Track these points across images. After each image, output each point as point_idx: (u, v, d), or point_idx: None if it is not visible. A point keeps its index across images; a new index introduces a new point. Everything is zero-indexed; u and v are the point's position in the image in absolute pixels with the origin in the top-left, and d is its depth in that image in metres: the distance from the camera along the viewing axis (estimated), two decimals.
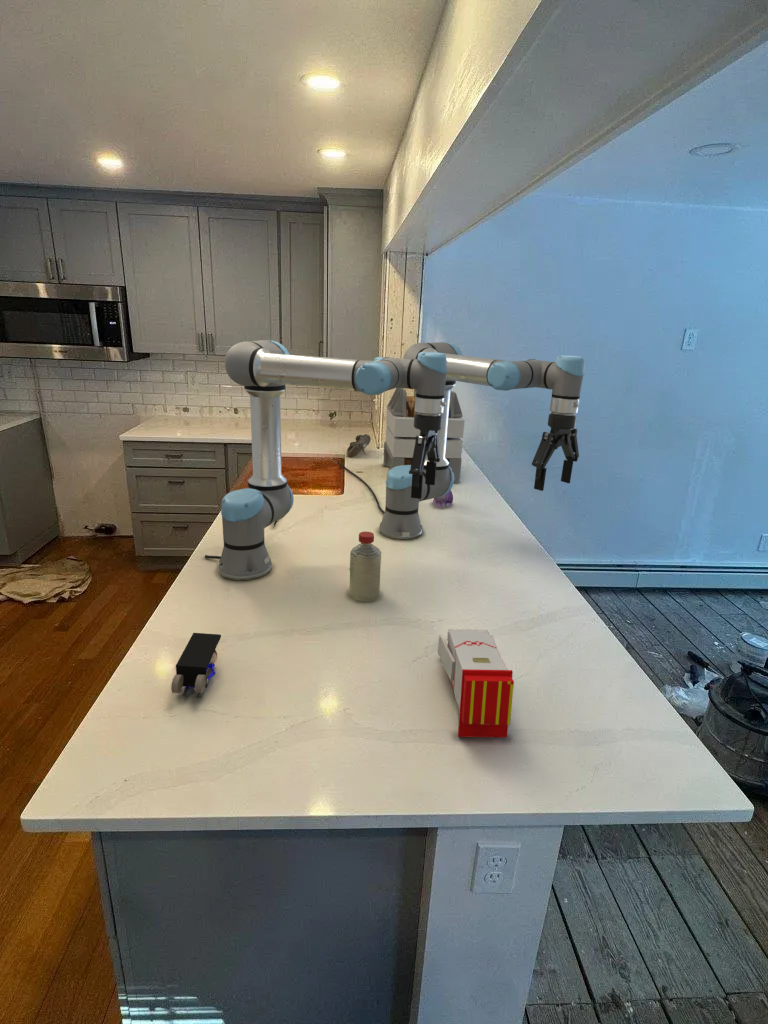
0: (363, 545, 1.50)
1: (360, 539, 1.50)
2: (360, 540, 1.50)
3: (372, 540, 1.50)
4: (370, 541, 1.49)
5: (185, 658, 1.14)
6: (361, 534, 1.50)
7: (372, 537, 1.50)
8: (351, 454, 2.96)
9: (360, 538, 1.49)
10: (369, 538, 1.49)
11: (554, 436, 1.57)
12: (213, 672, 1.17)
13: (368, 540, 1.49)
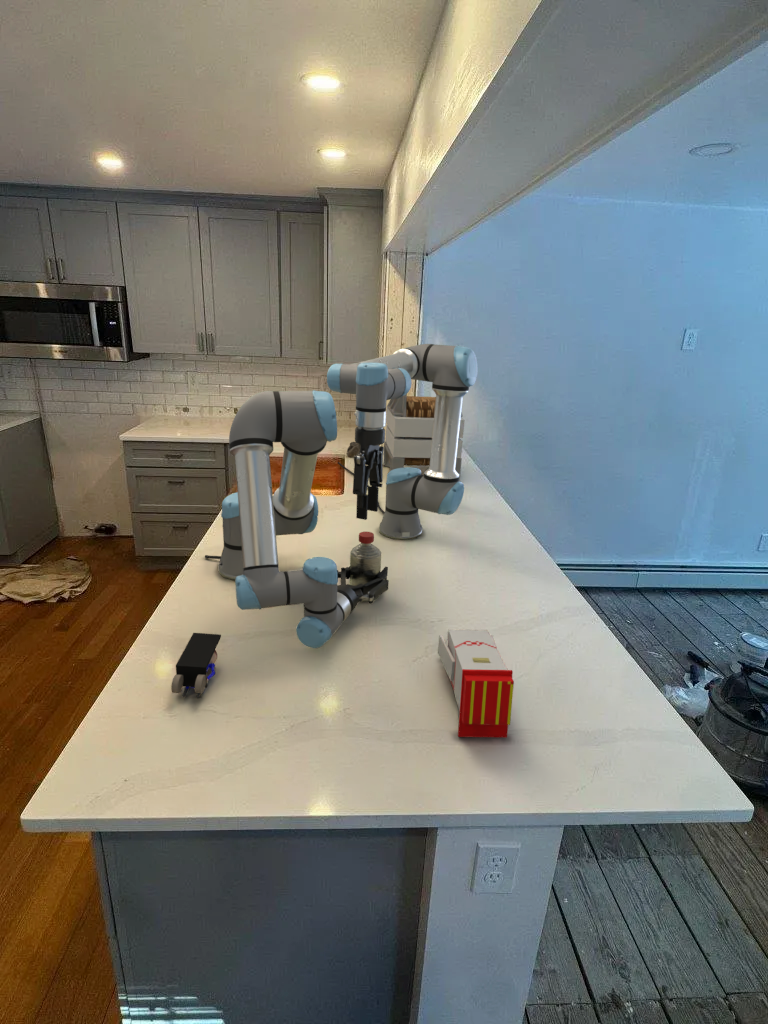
0: (363, 545, 1.50)
1: (360, 539, 1.50)
2: (360, 540, 1.50)
3: (372, 540, 1.50)
4: (370, 541, 1.49)
5: (185, 658, 1.14)
6: (361, 534, 1.50)
7: (372, 537, 1.50)
8: (351, 454, 2.96)
9: (360, 538, 1.49)
10: (369, 538, 1.49)
11: None
12: (213, 672, 1.17)
13: (368, 540, 1.49)
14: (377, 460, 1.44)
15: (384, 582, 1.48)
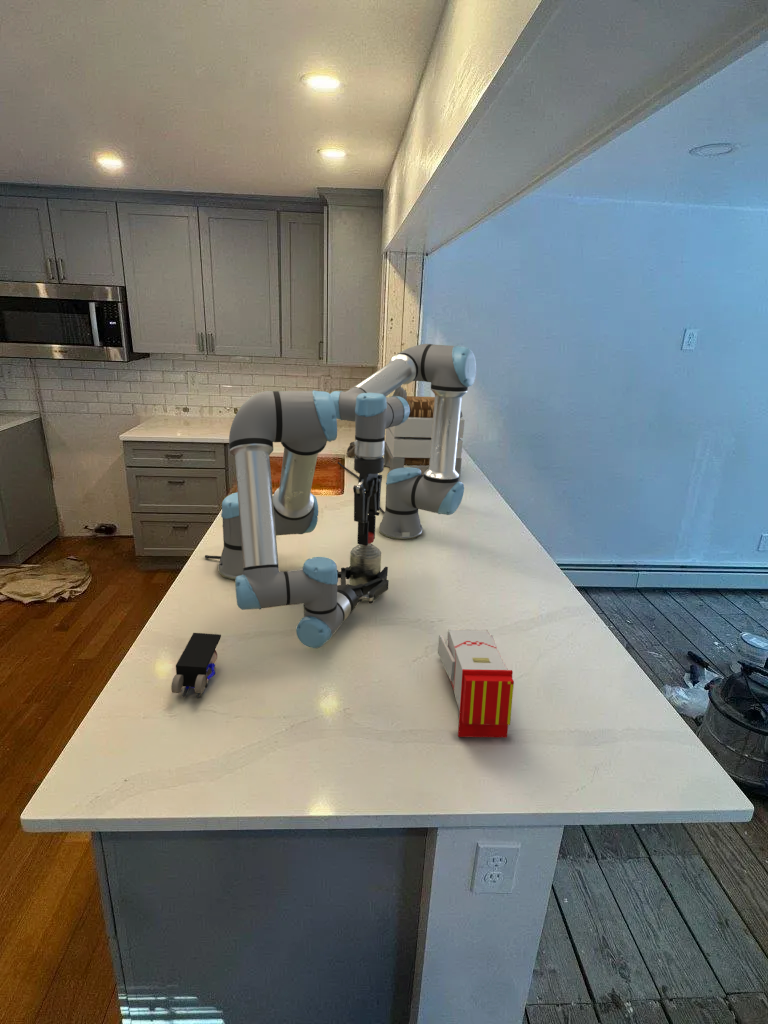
0: (363, 545, 1.50)
1: None
2: None
3: (372, 540, 1.50)
4: (370, 541, 1.49)
5: (185, 658, 1.14)
6: None
7: (372, 537, 1.50)
8: (351, 454, 2.96)
9: None
10: (369, 538, 1.49)
11: None
12: (213, 672, 1.17)
13: (368, 540, 1.49)
14: (375, 488, 1.47)
15: (384, 582, 1.48)
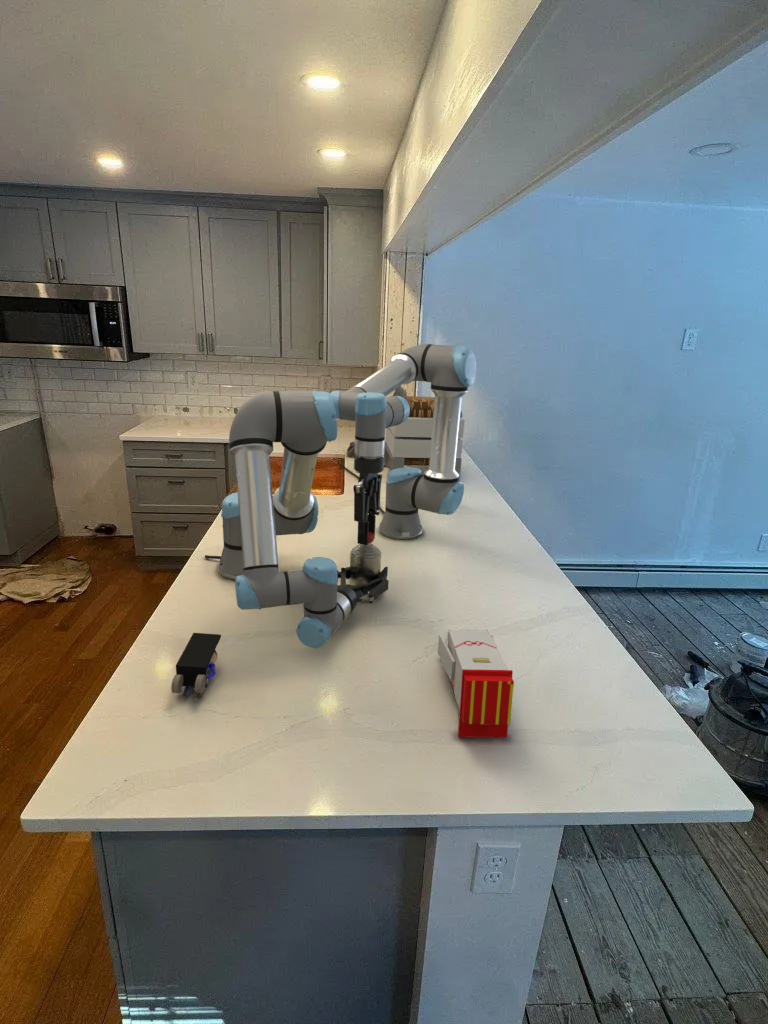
0: (363, 545, 1.50)
1: (371, 539, 1.50)
2: (371, 540, 1.50)
3: None
4: None
5: (185, 658, 1.14)
6: (368, 535, 1.49)
7: None
8: (351, 454, 2.96)
9: (371, 538, 1.49)
10: None
11: None
12: (213, 672, 1.17)
13: None
14: (375, 487, 1.47)
15: (384, 582, 1.48)
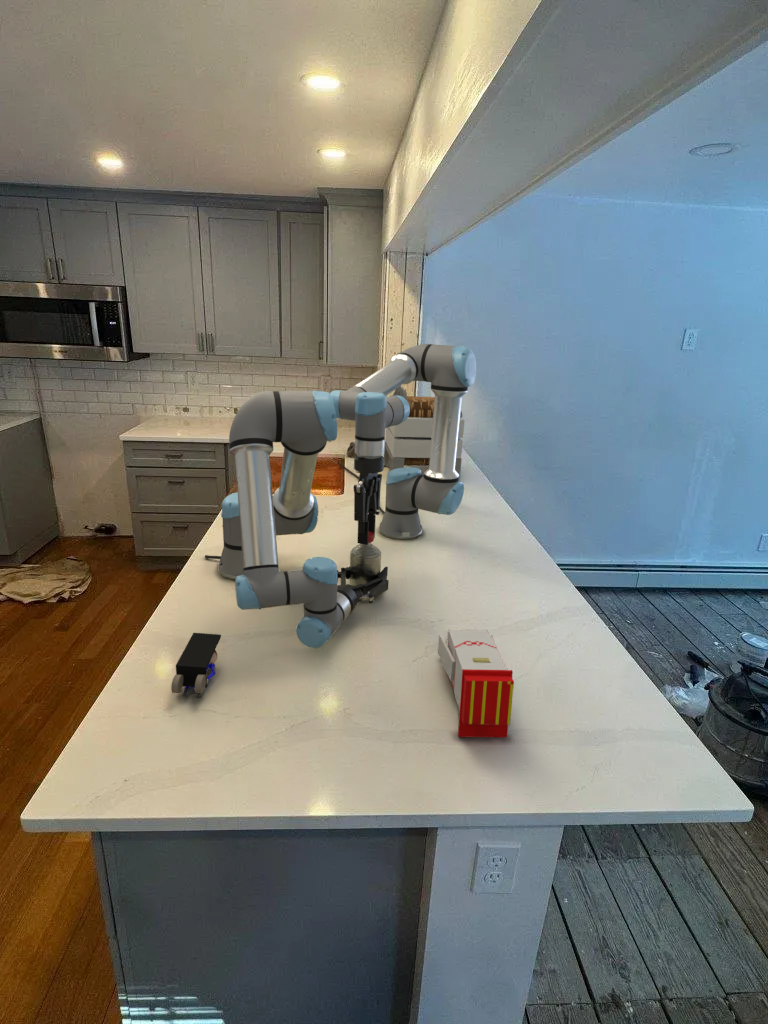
0: (363, 545, 1.50)
1: None
2: None
3: None
4: None
5: (185, 658, 1.14)
6: (370, 532, 1.51)
7: None
8: (351, 454, 2.96)
9: None
10: None
11: None
12: (213, 672, 1.17)
13: None
14: (375, 487, 1.47)
15: (384, 582, 1.48)
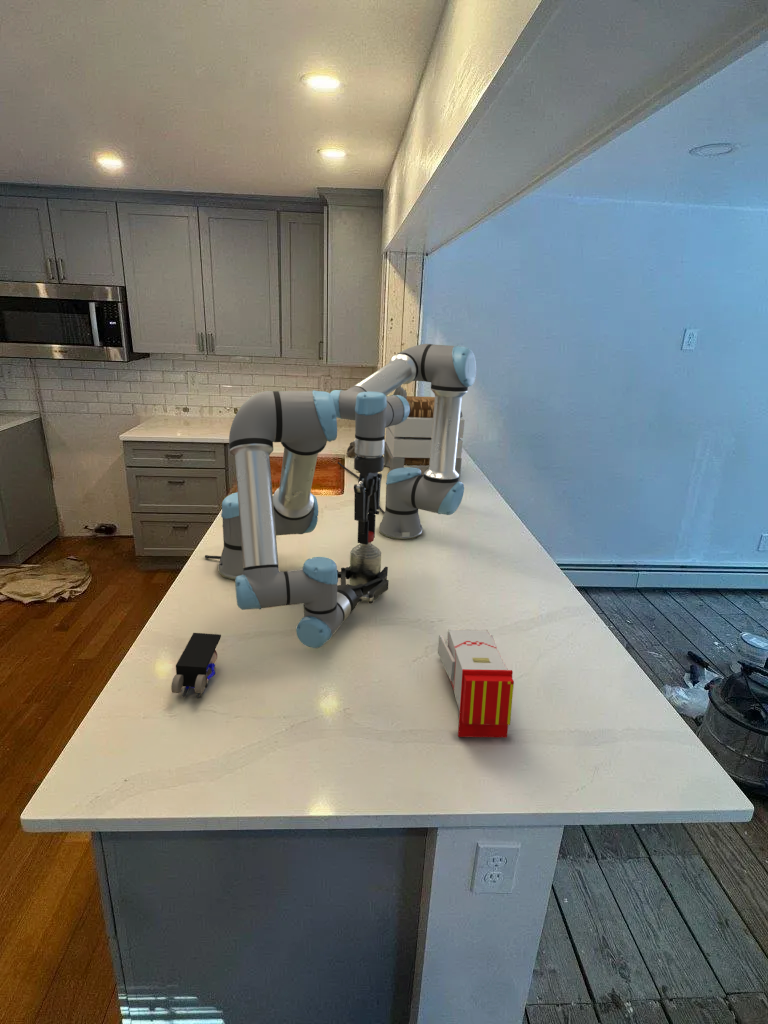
0: (363, 545, 1.50)
1: None
2: None
3: None
4: None
5: (185, 658, 1.14)
6: None
7: None
8: (351, 454, 2.96)
9: None
10: None
11: None
12: (213, 672, 1.17)
13: None
14: (375, 486, 1.46)
15: (384, 582, 1.48)
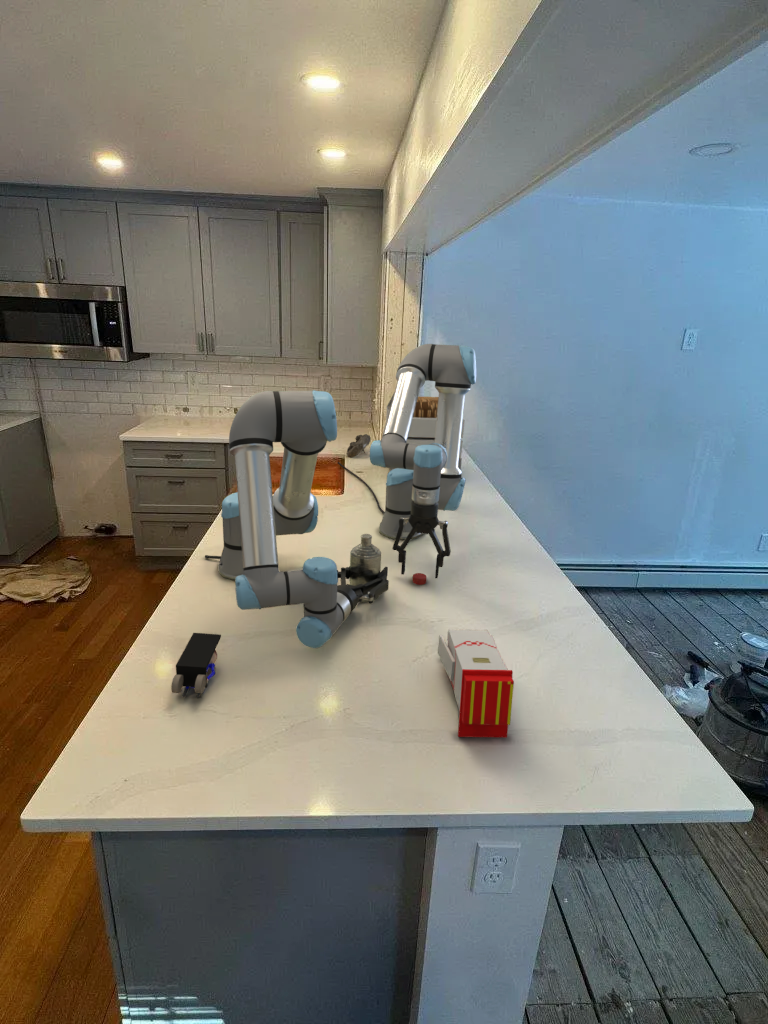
0: (363, 545, 1.50)
1: (419, 582, 1.63)
2: (418, 583, 1.63)
3: None
4: None
5: (185, 658, 1.14)
6: (417, 577, 1.64)
7: None
8: (351, 454, 2.96)
9: (419, 581, 1.63)
10: (426, 578, 1.64)
11: (409, 521, 1.59)
12: (213, 672, 1.17)
13: (425, 580, 1.64)
14: None
15: (384, 582, 1.48)
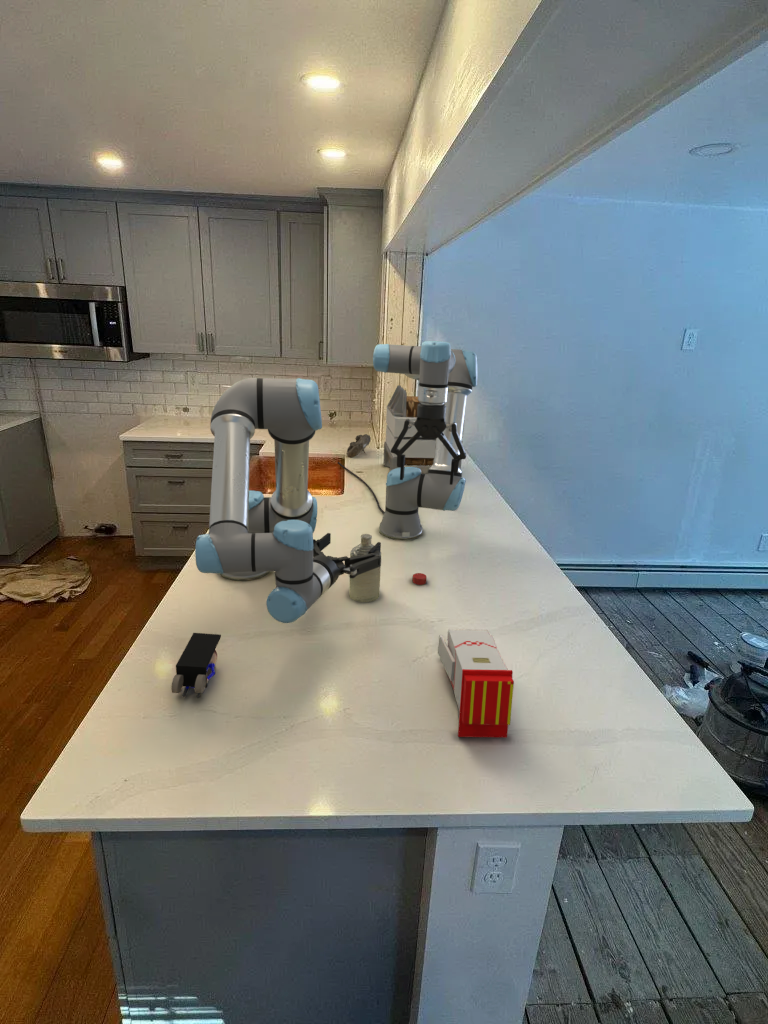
0: (363, 545, 1.50)
1: (419, 582, 1.63)
2: (418, 583, 1.63)
3: None
4: None
5: (185, 658, 1.14)
6: (417, 577, 1.64)
7: None
8: (351, 454, 2.96)
9: (419, 581, 1.63)
10: (426, 578, 1.64)
11: (415, 425, 1.50)
12: (213, 672, 1.17)
13: (425, 580, 1.64)
14: None
15: (375, 557, 1.31)
